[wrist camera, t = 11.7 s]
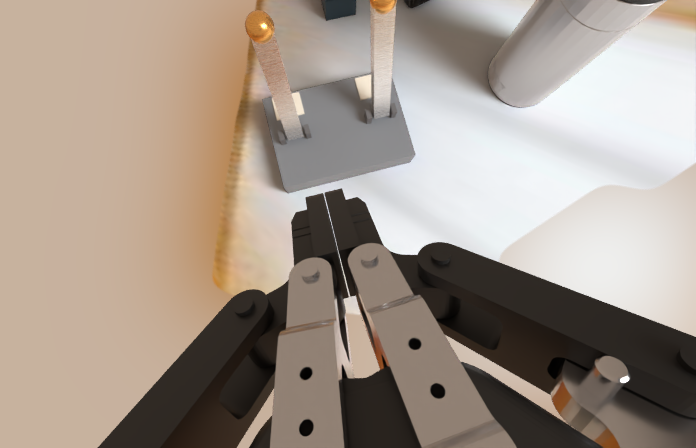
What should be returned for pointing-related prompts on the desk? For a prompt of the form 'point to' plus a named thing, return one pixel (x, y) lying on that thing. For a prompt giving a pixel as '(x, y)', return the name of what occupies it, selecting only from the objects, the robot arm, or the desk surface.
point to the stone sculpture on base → (338, 8)
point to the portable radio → (414, 2)
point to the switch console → (338, 134)
